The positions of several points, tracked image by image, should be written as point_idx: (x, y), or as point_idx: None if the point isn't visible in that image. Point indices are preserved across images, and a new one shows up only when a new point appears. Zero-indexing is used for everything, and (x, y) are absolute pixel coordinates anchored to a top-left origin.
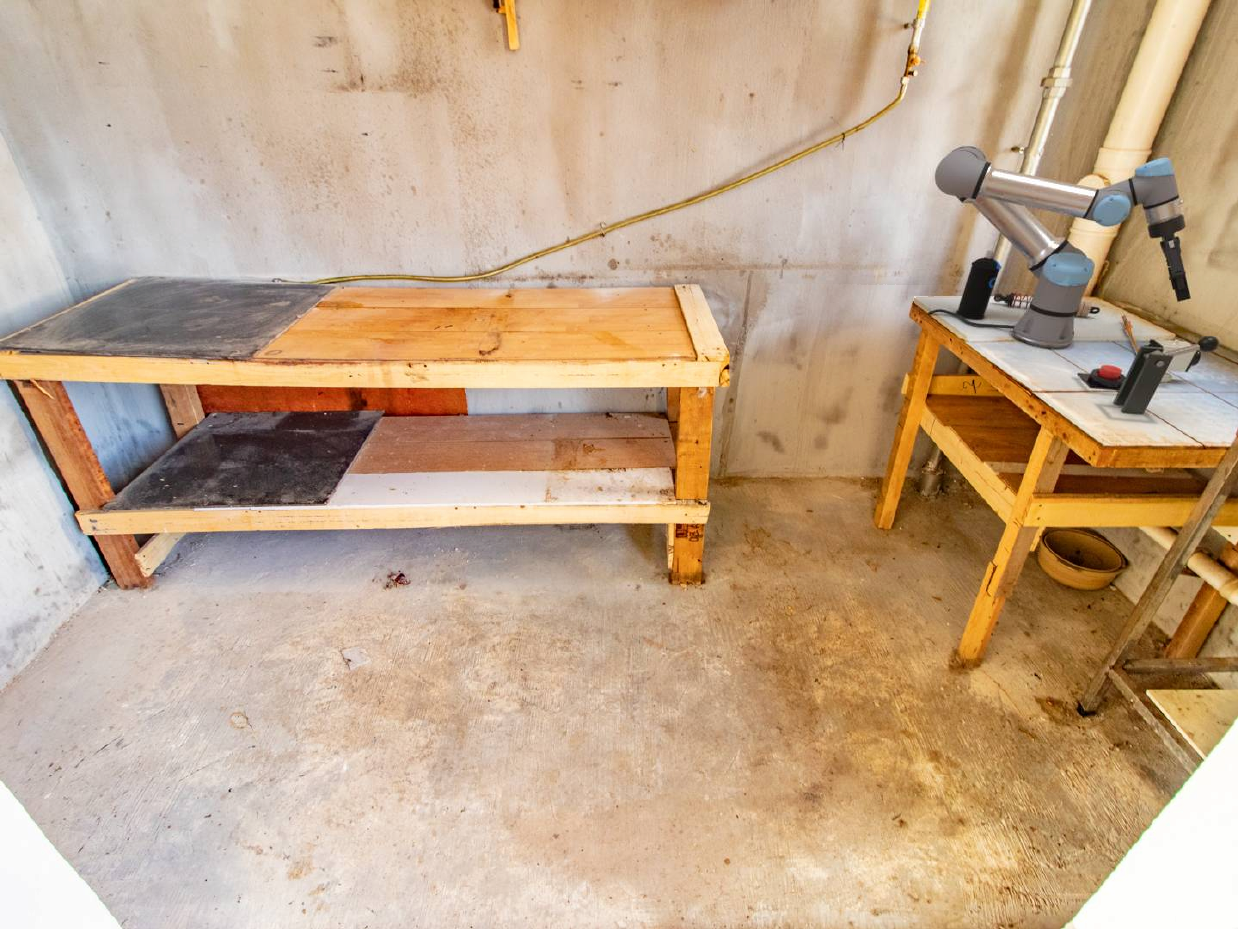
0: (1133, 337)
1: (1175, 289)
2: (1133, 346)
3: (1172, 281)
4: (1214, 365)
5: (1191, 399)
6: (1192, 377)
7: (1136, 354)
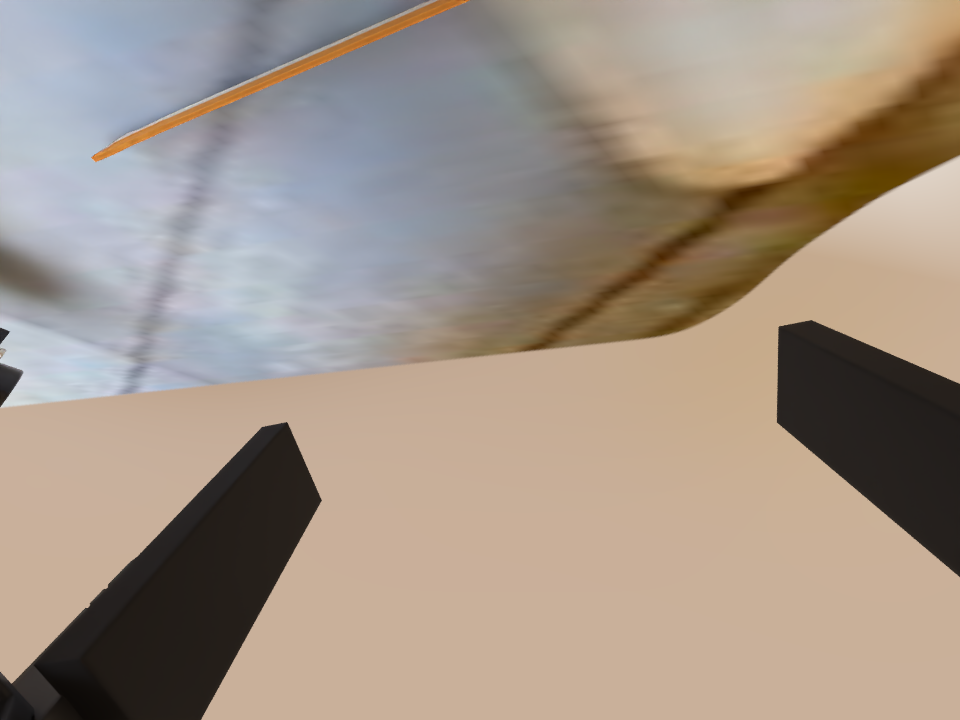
0: (449, 8)
1: (179, 520)
2: (344, 39)
3: (853, 378)
4: (434, 336)
5: (4, 342)
6: (223, 315)
7: (224, 90)
